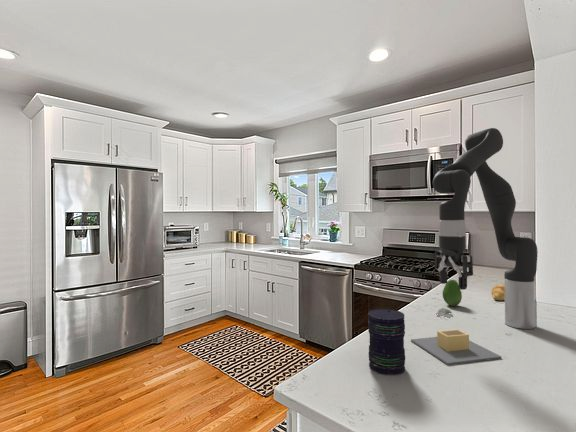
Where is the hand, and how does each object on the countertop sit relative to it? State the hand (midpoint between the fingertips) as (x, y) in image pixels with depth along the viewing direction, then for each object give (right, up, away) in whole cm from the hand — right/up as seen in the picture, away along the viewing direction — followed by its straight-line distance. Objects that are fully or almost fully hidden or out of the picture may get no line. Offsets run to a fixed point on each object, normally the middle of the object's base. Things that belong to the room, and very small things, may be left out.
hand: (452, 286), depth 103 cm
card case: (0, -19, 0) cm, 19 cm away
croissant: (+56, -19, +62) cm, 85 cm away
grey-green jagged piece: (+11, -20, +32) cm, 39 cm away
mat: (0, -20, 0) cm, 20 cm away
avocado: (+24, -19, +48) cm, 57 cm away
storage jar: (-24, -20, -11) cm, 33 cm away
